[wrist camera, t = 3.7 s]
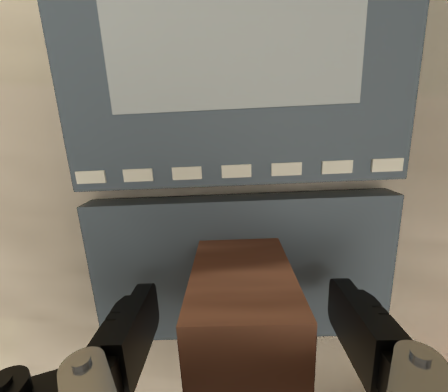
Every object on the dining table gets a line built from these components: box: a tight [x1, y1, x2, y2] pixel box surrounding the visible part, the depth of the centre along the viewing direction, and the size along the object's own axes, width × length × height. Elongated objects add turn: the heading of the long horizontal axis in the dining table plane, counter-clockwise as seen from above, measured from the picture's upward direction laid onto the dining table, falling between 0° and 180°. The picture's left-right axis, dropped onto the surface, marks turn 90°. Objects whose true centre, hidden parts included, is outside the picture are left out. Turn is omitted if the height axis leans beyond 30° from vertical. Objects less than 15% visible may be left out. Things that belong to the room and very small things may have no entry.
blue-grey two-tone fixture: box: [77, 188, 404, 392], centre depth 11 cm, size 8×16×8 cm, turn 93°
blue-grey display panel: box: [37, 0, 429, 192], centre depth 12 cm, size 14×16×2 cm
